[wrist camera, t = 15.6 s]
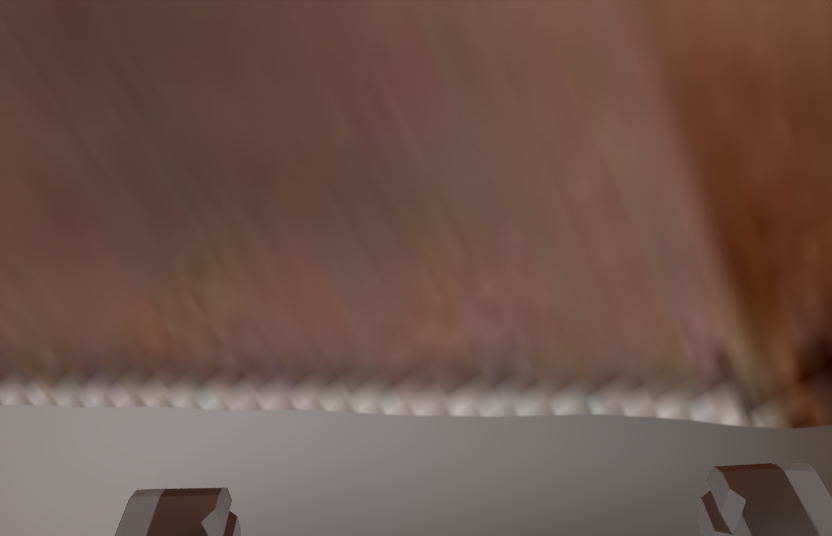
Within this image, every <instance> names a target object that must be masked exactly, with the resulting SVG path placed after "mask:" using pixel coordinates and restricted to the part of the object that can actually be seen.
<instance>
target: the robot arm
mask: <svg viewBox="0 0 832 536" xmlns="http://www.w3.org/2000/svg"><path fill="white" fill-rule="evenodd" d="M707 483H708V486H709V488H710V491H709V492H708V493H707V494H705V495H704V496H703V497H701V501H700V505H699V509H698V519H699V529H700V533H701V536H832V498H831V496H830V494H829V493H828V491H827V490H826V488H825V486H824V485H823V483H822V481H821V480H820V478H819V476H818V475H817V473H816V472H815V470H814V468H812V467H811V466H810V465H809V464H808V463H787V464H772V463H770V464H751V465H734V466H717V467H713V468H712V469H711V470H710V471H709V474H708V477H707ZM231 502H232V499H231V496H230V494H229V491H228V488H189V489H146V490H136V491H135V492H134V494H133V495H132V496H131V497H130V499H129V501H128V503H127V506H126V509H125V511H124V513H123V516H122V518H121V521H120V523H119V526H118V528H117V531H116V533H115V536H241V530H240V524H239V520H238V517H237V516H236V515H234V514H233V513H232V512H230V511H229V510H230V506H231Z"/></svg>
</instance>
